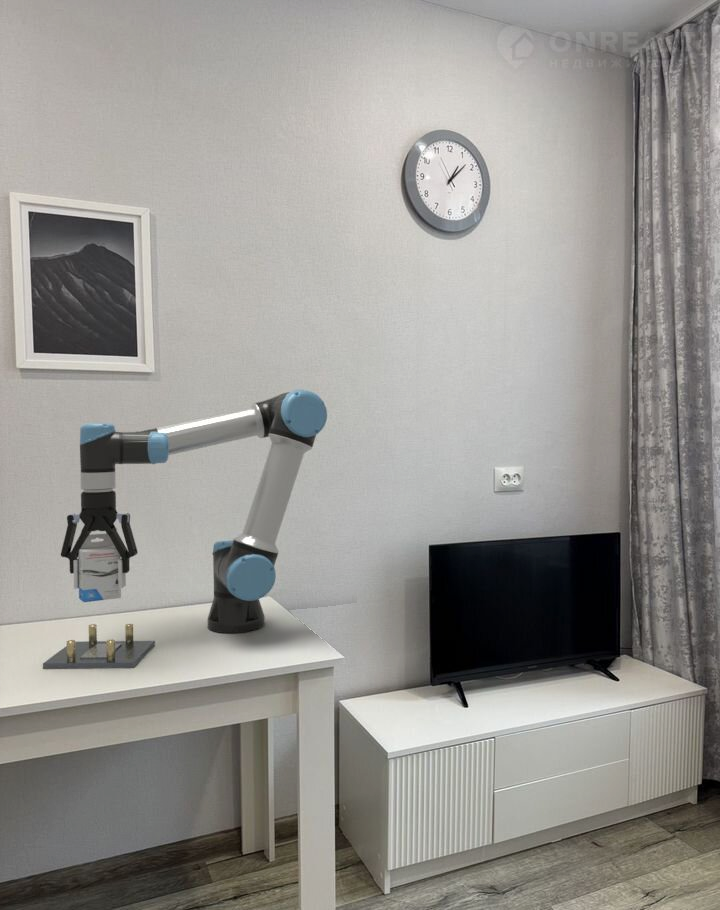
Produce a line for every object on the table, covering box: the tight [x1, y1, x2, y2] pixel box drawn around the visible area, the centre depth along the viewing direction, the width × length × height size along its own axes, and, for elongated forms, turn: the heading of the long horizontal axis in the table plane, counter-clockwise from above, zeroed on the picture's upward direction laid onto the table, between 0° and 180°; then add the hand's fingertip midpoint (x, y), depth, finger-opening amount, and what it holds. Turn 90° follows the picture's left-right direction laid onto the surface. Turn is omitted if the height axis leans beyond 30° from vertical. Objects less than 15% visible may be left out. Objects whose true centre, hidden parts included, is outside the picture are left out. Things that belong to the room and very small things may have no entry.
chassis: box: [42, 623, 156, 670], centre depth 160 cm, size 20×16×6 cm
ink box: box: [77, 533, 122, 603], centre depth 160 cm, size 8×5×15 cm, turn 123°
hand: (100, 587), depth 160 cm, fingers closed on ink box, 9 cm apart
